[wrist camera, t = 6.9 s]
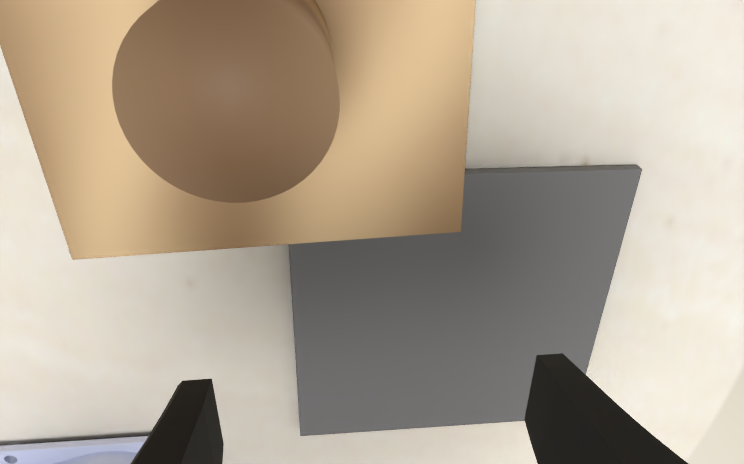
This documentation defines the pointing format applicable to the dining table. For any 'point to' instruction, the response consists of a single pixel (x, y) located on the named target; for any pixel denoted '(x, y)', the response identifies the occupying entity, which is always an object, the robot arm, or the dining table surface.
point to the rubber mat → (458, 303)
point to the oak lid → (244, 118)
